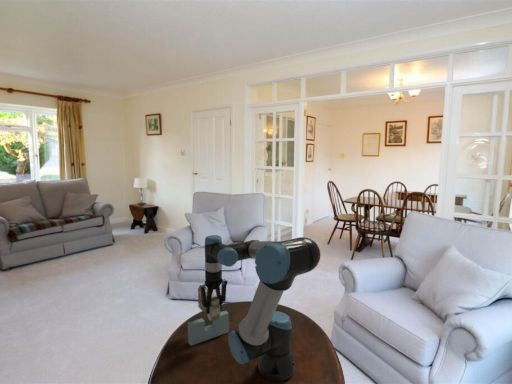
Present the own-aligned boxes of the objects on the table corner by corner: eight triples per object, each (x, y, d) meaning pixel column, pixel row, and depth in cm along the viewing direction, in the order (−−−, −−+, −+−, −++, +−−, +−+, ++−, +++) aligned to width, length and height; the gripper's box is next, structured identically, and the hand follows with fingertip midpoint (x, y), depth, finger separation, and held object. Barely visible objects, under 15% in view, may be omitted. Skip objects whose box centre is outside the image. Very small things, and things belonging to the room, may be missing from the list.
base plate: (225, 329, 152) (225, 310, 151) (228, 332, 150) (228, 313, 149) (188, 342, 141) (187, 322, 140) (190, 346, 139) (190, 325, 138)
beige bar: (219, 319, 139) (219, 298, 138) (212, 321, 137) (212, 300, 136) (204, 305, 152) (204, 286, 151) (198, 306, 150) (198, 287, 149)
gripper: (225, 263, 144) (226, 309, 147) (193, 270, 135) (193, 319, 138) (233, 268, 138) (233, 316, 141) (199, 276, 129) (200, 327, 132)
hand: (214, 318), depth 139 cm, fingers closed on beige bar, 3 cm apart
